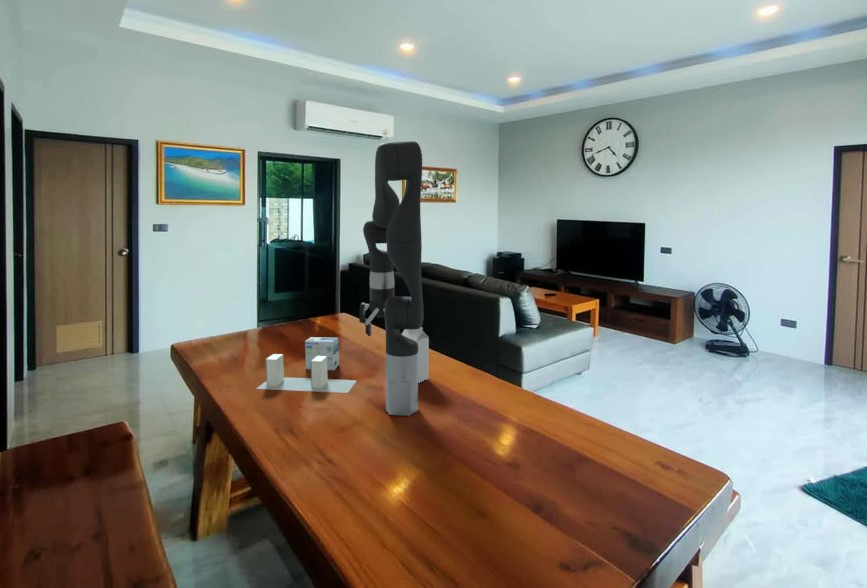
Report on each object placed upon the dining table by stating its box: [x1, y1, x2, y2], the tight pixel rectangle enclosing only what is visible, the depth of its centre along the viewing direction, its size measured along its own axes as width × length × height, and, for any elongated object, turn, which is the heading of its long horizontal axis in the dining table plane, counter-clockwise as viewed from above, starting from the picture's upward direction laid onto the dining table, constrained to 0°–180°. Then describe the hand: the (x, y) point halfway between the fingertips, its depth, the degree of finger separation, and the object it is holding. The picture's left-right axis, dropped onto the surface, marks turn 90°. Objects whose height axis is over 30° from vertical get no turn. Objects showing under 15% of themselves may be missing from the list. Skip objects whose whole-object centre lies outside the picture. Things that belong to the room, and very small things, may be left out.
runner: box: [256, 376, 358, 394], centre depth 170 cm, size 12×30×1 cm, turn 84°
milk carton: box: [401, 326, 430, 384], centre depth 174 cm, size 7×7×19 cm
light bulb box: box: [304, 336, 340, 371], centre depth 188 cm, size 11×7×11 cm, turn 84°
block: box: [310, 356, 329, 388], centre depth 168 cm, size 6×4×9 cm, turn 174°
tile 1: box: [265, 353, 285, 386], centre depth 170 cm, size 6×4×9 cm, turn 175°
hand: (383, 336), depth 161 cm, fingers open, 8 cm apart
